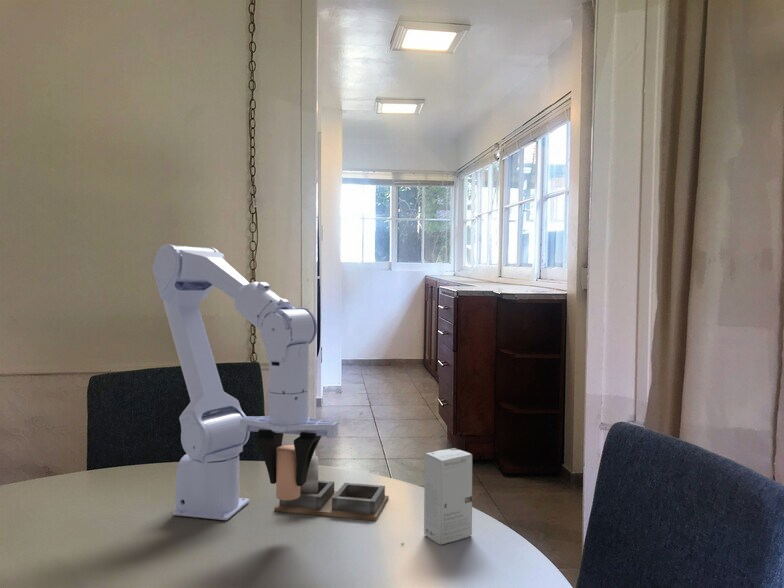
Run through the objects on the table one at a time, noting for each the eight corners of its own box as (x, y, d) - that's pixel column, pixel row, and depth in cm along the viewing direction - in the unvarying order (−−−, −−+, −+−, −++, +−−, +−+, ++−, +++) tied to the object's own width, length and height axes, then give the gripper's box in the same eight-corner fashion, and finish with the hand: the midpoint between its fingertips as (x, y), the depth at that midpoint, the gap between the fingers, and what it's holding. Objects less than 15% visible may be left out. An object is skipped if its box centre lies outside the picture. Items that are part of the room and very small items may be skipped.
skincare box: (441, 546, 79) (441, 460, 79) (422, 534, 83) (422, 452, 82) (474, 535, 82) (474, 453, 82) (454, 524, 86) (454, 446, 86)
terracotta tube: (272, 499, 81) (272, 451, 81) (281, 490, 84) (282, 444, 84) (294, 501, 80) (295, 452, 80) (303, 492, 84) (304, 445, 83)
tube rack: (274, 511, 91) (274, 464, 91) (295, 491, 100) (295, 448, 99) (376, 520, 87) (376, 472, 87) (388, 499, 96) (388, 455, 96)
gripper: (229, 393, 80) (229, 488, 80) (327, 398, 77) (326, 496, 77) (252, 384, 86) (252, 471, 87) (342, 388, 83) (341, 479, 84)
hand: (288, 482), depth 82 cm, fingers closed on terracotta tube, 3 cm apart
